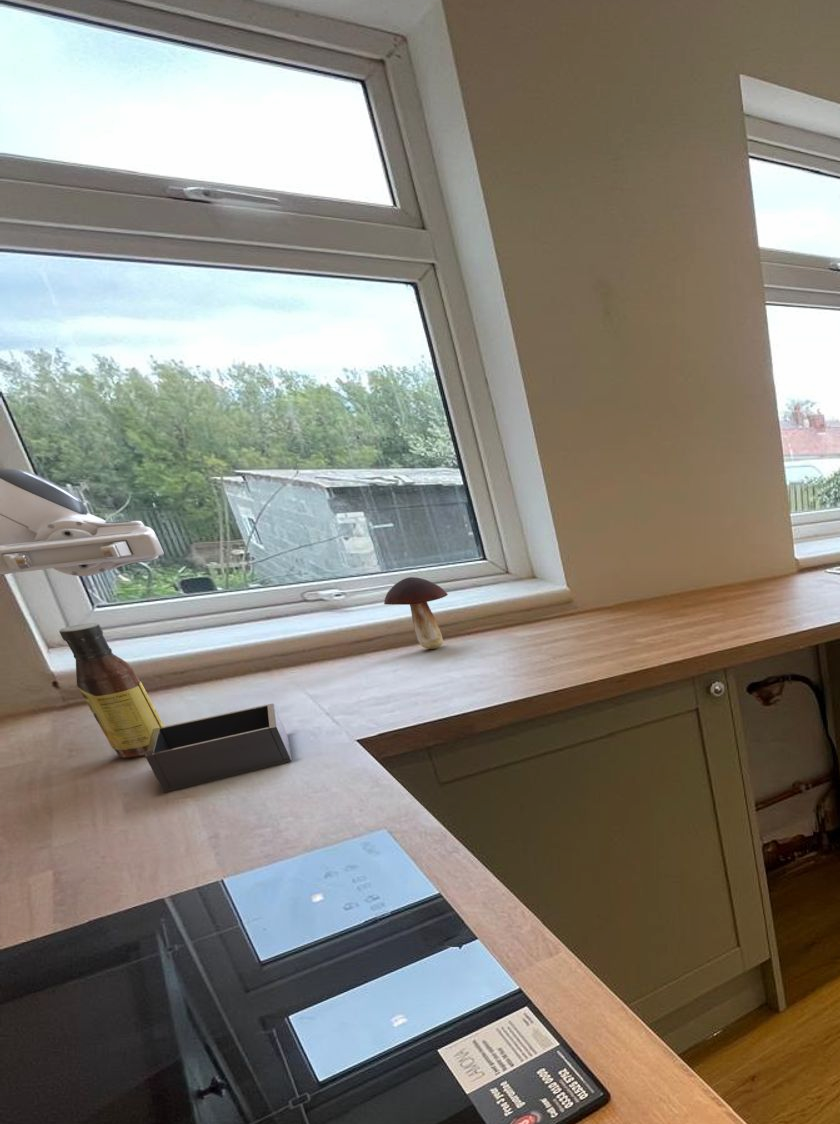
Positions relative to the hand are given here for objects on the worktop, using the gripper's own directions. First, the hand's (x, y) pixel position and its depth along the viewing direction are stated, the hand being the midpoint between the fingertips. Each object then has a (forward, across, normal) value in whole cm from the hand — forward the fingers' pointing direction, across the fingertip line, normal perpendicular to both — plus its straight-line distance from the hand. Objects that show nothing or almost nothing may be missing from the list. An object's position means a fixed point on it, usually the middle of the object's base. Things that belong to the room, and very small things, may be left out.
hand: (65, 557), depth 121 cm
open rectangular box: (+29, +10, +28) cm, 42 cm away
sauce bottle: (+13, 0, +28) cm, 31 cm away
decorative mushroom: (-17, +42, +28) cm, 53 cm away
